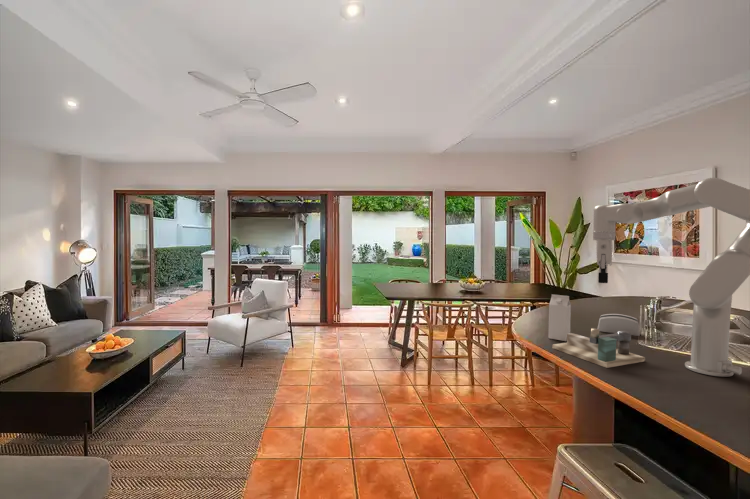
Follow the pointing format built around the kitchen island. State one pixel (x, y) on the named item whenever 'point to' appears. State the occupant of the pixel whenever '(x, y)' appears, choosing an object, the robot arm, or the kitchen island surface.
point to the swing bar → (618, 336)
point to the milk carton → (559, 317)
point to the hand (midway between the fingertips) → (603, 282)
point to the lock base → (595, 356)
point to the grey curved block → (618, 324)
